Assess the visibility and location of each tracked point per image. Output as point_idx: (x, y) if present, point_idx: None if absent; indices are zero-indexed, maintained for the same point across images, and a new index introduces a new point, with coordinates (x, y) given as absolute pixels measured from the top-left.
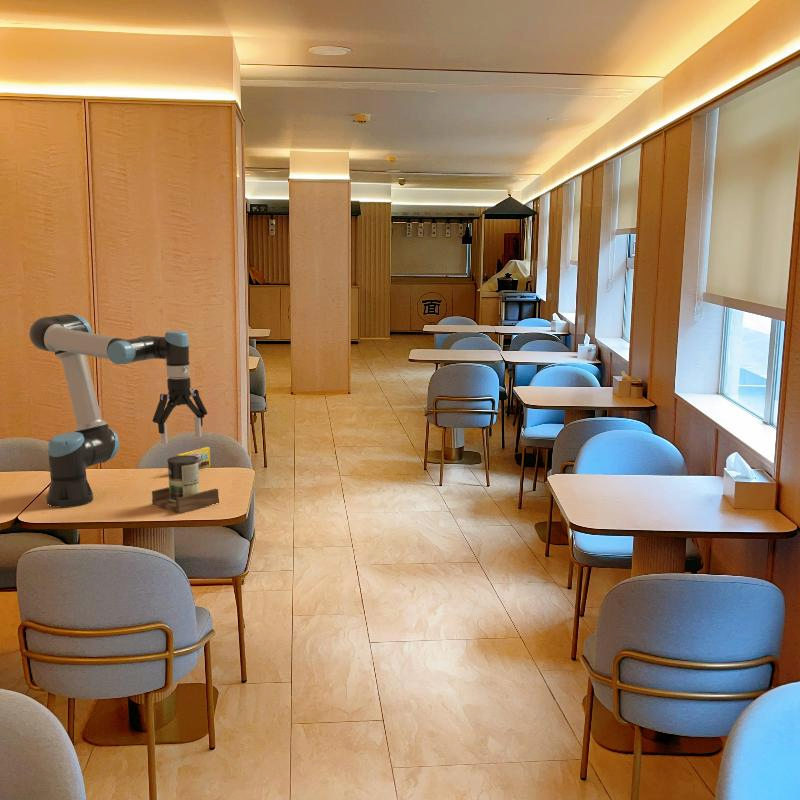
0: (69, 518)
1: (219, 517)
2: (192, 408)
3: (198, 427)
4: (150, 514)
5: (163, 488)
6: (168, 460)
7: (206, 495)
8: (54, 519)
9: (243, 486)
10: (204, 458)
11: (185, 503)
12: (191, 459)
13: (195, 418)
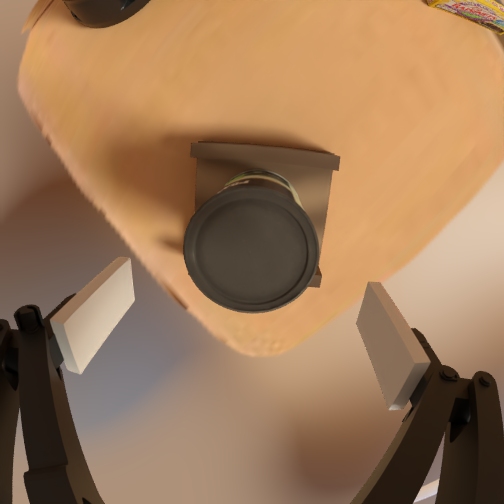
0: (49, 102)
1: (237, 340)
2: (365, 485)
3: (372, 354)
4: (152, 206)
5: (232, 146)
6: (191, 225)
7: None
8: (36, 90)
9: (450, 210)
10: (502, 25)
11: None
12: (270, 285)
13: (404, 372)
